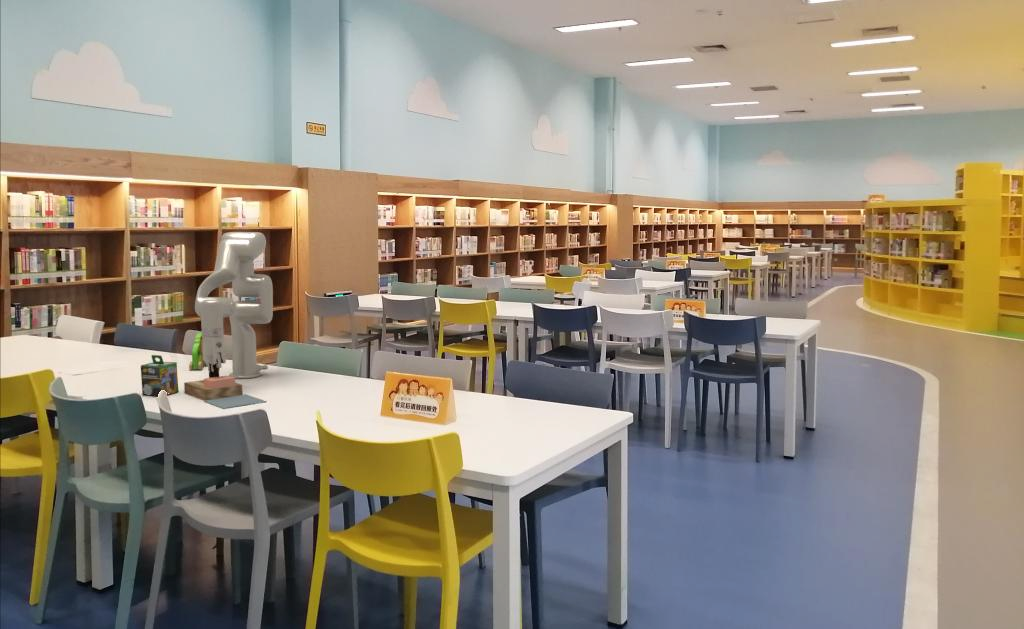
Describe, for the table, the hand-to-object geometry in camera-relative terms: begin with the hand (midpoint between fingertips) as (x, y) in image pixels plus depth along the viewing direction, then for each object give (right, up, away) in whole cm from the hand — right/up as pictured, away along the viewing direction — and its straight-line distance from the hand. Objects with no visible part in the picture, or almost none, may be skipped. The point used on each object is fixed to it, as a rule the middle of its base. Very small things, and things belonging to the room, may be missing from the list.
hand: (214, 381), depth 295 cm
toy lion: (-27, +1, +56) cm, 62 cm away
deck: (-1, -5, +2) cm, 5 cm away
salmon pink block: (+3, -1, -3) cm, 5 cm away
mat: (+11, -6, -11) cm, 17 cm away
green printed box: (-21, -5, +2) cm, 21 cm away
